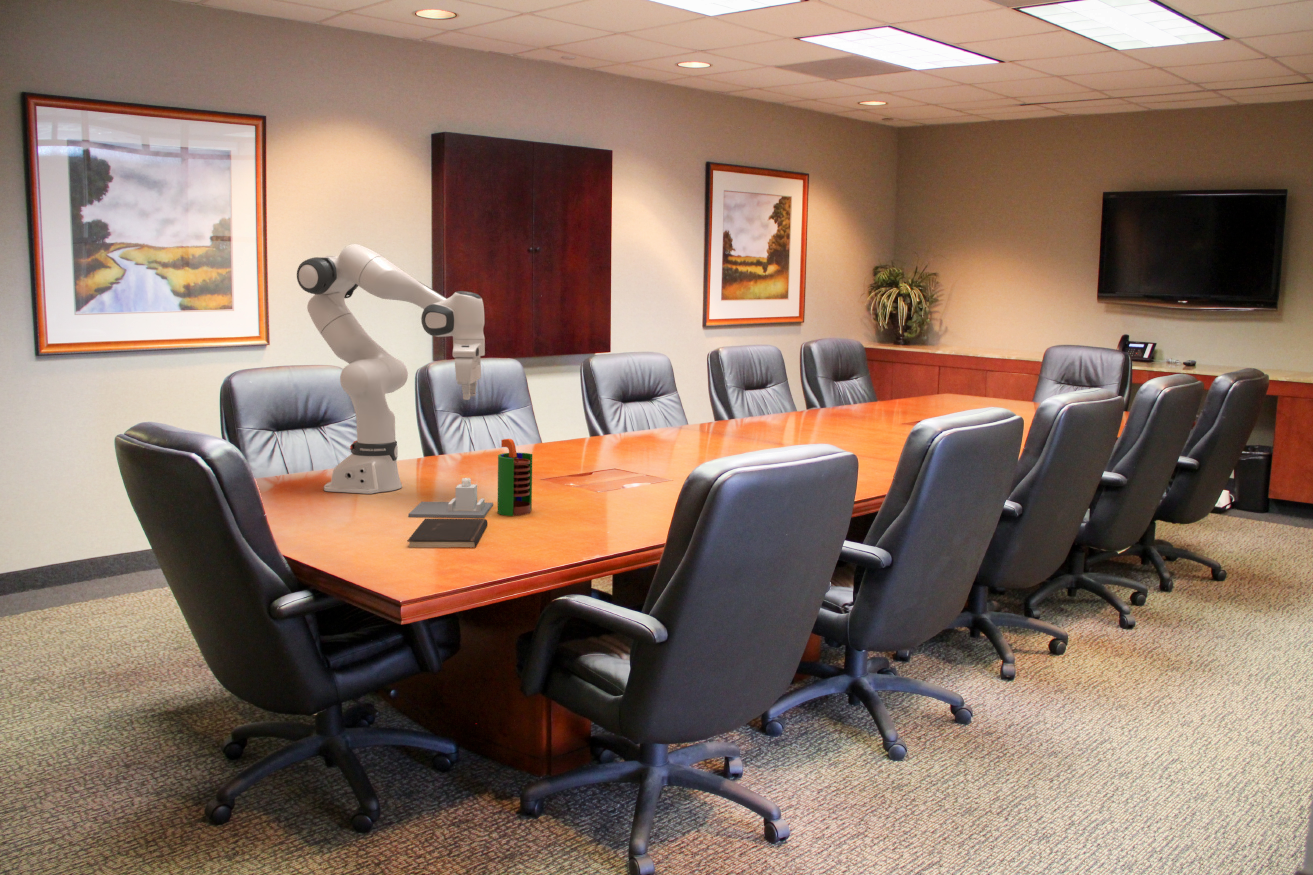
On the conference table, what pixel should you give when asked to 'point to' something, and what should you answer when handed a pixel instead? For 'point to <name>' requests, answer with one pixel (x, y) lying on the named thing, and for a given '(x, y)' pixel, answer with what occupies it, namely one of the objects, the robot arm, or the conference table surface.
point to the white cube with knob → (466, 495)
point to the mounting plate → (450, 510)
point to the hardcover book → (448, 533)
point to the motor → (514, 481)
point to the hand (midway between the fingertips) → (469, 397)
